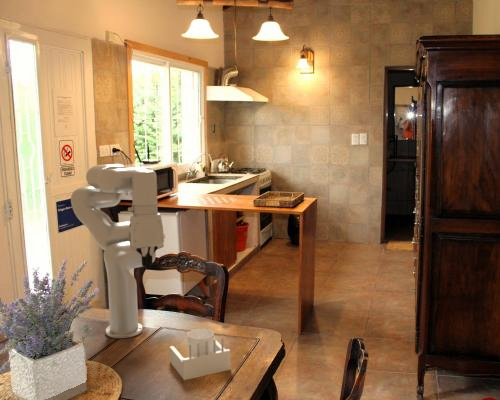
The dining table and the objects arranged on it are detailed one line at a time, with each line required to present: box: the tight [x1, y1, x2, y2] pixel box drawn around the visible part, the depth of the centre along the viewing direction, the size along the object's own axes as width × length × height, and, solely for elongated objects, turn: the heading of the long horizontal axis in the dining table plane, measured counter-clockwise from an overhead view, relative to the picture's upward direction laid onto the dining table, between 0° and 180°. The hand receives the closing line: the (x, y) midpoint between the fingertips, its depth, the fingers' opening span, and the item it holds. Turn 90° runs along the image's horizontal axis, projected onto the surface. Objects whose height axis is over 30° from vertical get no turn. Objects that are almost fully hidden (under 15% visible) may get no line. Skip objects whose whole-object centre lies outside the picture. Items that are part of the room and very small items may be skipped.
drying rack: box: [169, 337, 232, 381], centre depth 162 cm, size 13×14×10 cm
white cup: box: [186, 328, 215, 357], centre depth 162 cm, size 8×8×10 cm
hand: (147, 267), depth 170 cm, fingers closed
